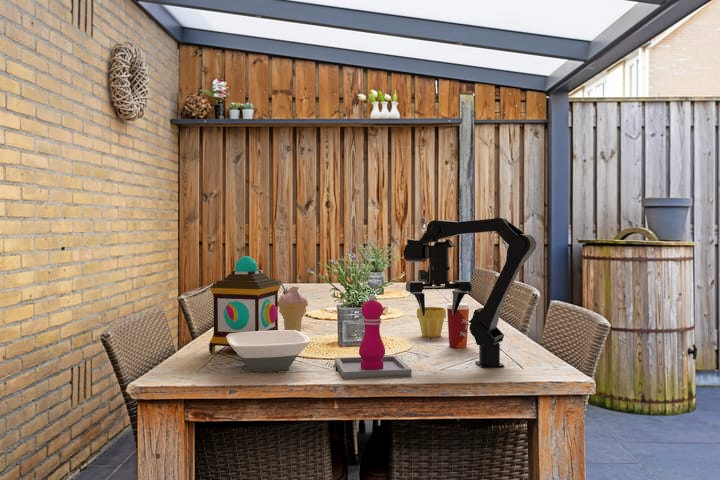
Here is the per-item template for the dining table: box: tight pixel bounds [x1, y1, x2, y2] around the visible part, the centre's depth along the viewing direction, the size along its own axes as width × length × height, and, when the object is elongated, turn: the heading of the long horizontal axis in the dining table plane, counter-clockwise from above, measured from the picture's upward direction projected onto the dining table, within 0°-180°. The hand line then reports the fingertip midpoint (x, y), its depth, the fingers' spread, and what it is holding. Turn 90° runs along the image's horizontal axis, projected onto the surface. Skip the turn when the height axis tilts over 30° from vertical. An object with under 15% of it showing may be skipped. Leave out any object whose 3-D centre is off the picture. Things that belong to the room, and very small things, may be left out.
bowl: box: [226, 329, 311, 373], centre depth 177 cm, size 22×23×8 cm
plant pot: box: [416, 306, 447, 338], centre depth 227 cm, size 10×10×10 cm
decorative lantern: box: [208, 255, 282, 355], centre depth 200 cm, size 20×20×30 cm
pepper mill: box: [358, 294, 386, 370], centre depth 173 cm, size 7×7×20 cm
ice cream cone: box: [278, 280, 309, 332], centre depth 226 cm, size 11×11×20 cm
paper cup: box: [445, 302, 471, 349], centre depth 207 cm, size 8×8×14 cm
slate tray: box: [334, 355, 413, 380], centre depth 174 cm, size 18×18×2 cm
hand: (438, 315), depth 187 cm, fingers open, 9 cm apart
